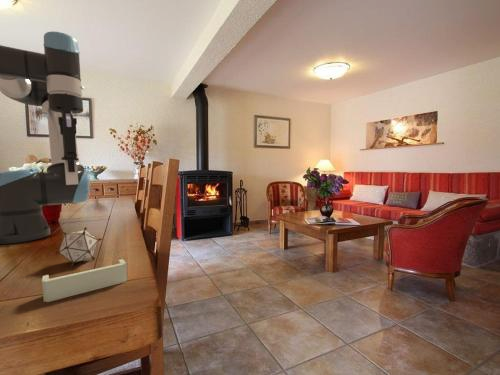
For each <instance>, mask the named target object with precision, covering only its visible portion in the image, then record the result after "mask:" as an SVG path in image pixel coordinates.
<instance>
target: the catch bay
mask: <svg viewBox="0 0 500 375" xmlns="http://www.w3.org/2000/svg"><path fill="white" fill-rule="evenodd" d="M127 271H128V270H127V262H126V260H124V259H123V258H122V259H118V263H116V264H112V265H111V264H110V265H107V266H102V267H98V268H93V269H90V270H84V271H80V272H76V273H70V274H67V275H66V274H65V275H62V276H61V275H60V276H57V277H52V278H50V276H49V274H45V275H42V279H41V284H42V285H41V287H42V298H43V303H45V302H46V303H49V302H54V301H58V300H61V299H66V298H68V297H73V296H77V295H80V294H84V293H87V292H92V291H95V290H100V289H104V288H107V287H111V286H115V285H118V284H123V283H126V282H127V281H128V272H127Z"/></svg>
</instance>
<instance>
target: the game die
mask: <svg viewBox="0 0 500 375" xmlns="http://www.w3.org/2000/svg"><path fill="white" fill-rule="evenodd" d="M87 229H88V227H87V226H85V227H84V229H82V230H77V231H72V232H66V231H64V230H63V231H62V234H63V235H64V236H63V239H62V241H61V244H60V247H59V248H58V250H57V251H55V252H54V255H55V254H56V255H57V254H60V255H61V256H62V257H64V258H65V259H67V260H68V261H69V262H70V266H71V267H73V266H74V264H75V263H77V262H81V261H85V260H88V259H89V260H90V259H92V260H96V258H95V256H94V254H95V252H96V248H97V246H98V243H99V242H100V241H102V240H103V238H101V237H100V238H97V237H96V236H94V235H93V234H91V233H90V232H89V231H87Z"/></svg>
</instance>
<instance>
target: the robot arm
mask: <svg viewBox="0 0 500 375" xmlns="http://www.w3.org/2000/svg"><path fill="white" fill-rule="evenodd" d="M43 50H44V51H43V52H44V53H41V52H36V51H30V50H25V49H21V48H14V47H10V46H5V45H1V44H0V93H1V94H2V95H4V96H5V97H7V98H9V99H11V100H13V101H16V102H18V103H21V104H25V105H28V106H33V107H35V106H36V107H41V109H42V111H43V112H44V113H45V114H46V115H47V126H48V127H47V128H48V140H49V151H50V161H51V164H50V165H48V166H47V167H46V172H44V171H43V172H40V170H39V169H38V168H30V169H29V168H27V169H26V168H25V169H18V170H10V171H3V172H0V245H7V244H16V243H17V244H19V243H25V242H29V241H34V240H39V239H43V238H46V237H49V236H50V235H51V227H50V226H49V224H48V221H47V220H46V218H45V215H44V214H43V207H44V206H55V205H66V204H76V203H77V204H78V203H84V202H86V201H87V200H88V199H89V197H90V196H89V195H90V186H91V182H90V180H91V175H90V174H91V173H90V171H87V170H85V166H84V165H83V164H81V163H80V159H79V151H78V143H77V124H78V121H77V120H78V119H77V117H74V116H75V115H76V114H77V115H78V114H81V113H83V112H84V103H83V99H82V98H81V97H83V92H82V91H83V90H84V89H85V87H84V86H83V85H82V79H81V65H80V54H81V53H80V50H79V42H78V40H76V38H74V37H73V36H71V35H69V34H67V33H64V32H59V31H47V32H45V33H44V35H43Z"/></svg>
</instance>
